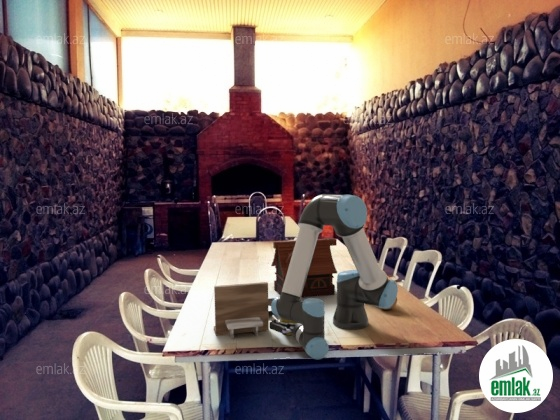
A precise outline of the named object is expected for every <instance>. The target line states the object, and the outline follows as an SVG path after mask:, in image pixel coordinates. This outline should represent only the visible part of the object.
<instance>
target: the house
mask: <svg viewBox="0 0 560 420" xmlns="http://www.w3.org/2000/svg"><path fill="white" fill-rule="evenodd" d="M272 243H273V244H272V245H273V246H272V248H273V249H274V255H273V259H272V263H271V267H274V269H275V272H274V275H275V280H273V285H274V286H273V290H274V292H276V293H277V294H278V296H281V292H282V289H283V285H284V282H285V278H286V275H287V271H288V268H289V264H290V261H291V257H292V254H293V250H294V247H295V243H296V240H282V241H281V240H279V241H273V242H272ZM337 244H338V243H337V239H336V238H334V237H333V238H318V239H317V242H316V246H315V249H314V253H313V256H312V260H311V264H310V267H309V271H308V274H307V278H306V281H305V285H304V288H303V292H302V296H301V298H314V297H325V296H326V297H327V296H335V295H336V291H335V290H336V287H335V284H334V283H333V279H334V278H335V276H334V275H333V274H335V275H336V274H338V270H337V267H336V266H335V263H334V259H333V255H332V250H331V247H335V246H337Z"/></svg>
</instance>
